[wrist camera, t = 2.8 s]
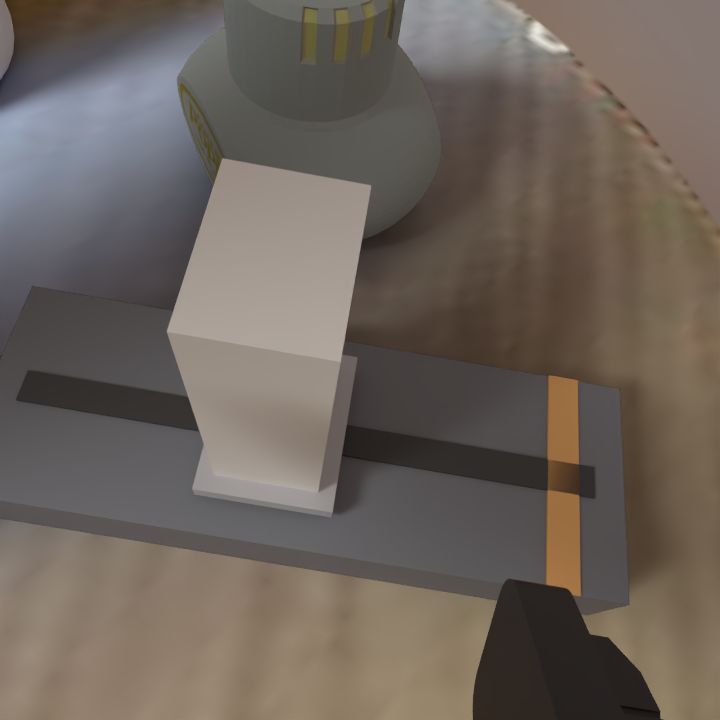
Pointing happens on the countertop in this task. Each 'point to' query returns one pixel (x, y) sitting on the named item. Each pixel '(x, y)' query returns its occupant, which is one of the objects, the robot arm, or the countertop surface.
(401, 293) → the countertop surface
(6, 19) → the wine bottle
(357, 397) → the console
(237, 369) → the fader tab
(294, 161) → the air freshener
